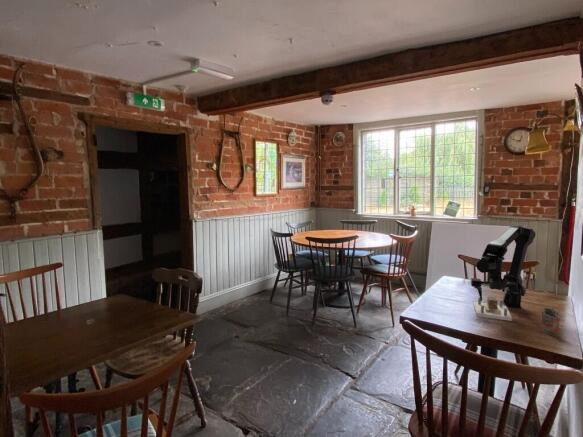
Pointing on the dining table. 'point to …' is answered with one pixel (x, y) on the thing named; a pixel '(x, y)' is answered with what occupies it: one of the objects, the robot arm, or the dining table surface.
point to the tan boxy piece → (492, 305)
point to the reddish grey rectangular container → (550, 321)
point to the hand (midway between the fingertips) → (492, 302)
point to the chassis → (482, 313)
